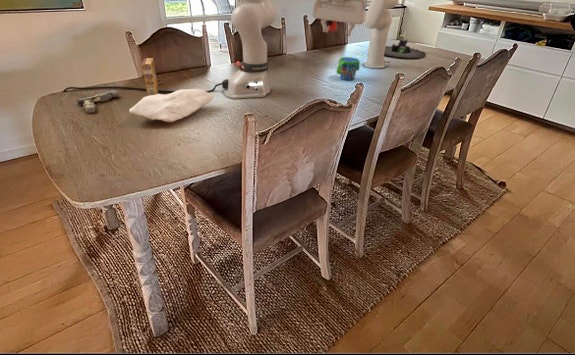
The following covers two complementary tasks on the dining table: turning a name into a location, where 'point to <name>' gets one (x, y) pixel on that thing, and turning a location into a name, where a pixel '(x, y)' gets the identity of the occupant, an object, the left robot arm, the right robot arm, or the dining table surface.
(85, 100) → the handgun
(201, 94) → the crumpled cloth
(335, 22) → the canister
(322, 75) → the dining table surface
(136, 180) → the dining table surface
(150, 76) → the candy box
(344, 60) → the snack cup
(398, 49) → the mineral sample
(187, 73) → the dining table surface
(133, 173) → the dining table surface
